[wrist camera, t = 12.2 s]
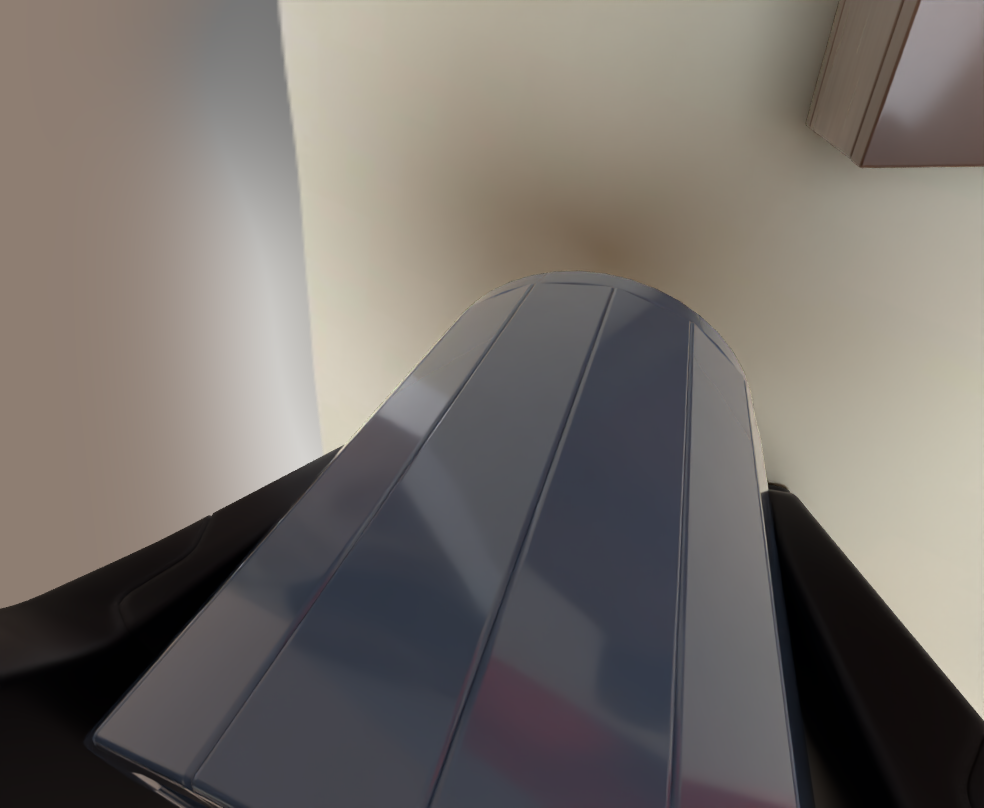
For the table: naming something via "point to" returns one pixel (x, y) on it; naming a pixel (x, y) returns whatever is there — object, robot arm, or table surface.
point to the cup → (503, 590)
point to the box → (851, 69)
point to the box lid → (929, 90)
